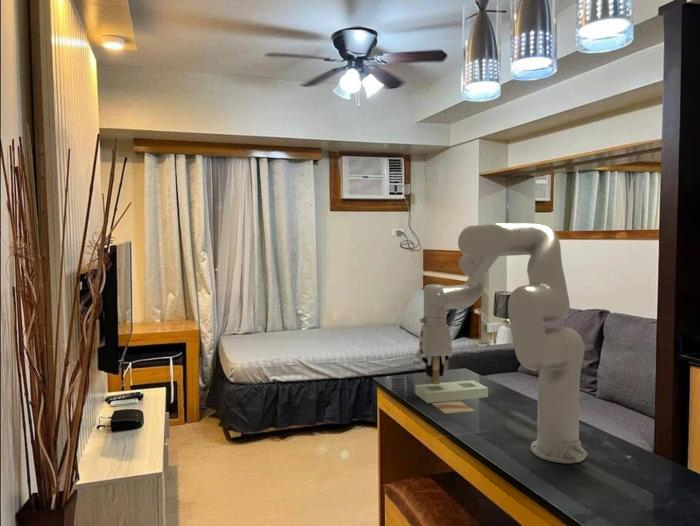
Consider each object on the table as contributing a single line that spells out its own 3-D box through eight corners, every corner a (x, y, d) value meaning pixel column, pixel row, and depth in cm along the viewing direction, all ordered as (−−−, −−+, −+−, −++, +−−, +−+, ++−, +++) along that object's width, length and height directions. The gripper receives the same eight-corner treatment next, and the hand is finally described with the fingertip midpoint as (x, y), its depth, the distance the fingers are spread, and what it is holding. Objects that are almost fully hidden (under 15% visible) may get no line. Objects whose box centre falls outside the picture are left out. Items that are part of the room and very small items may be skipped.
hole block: (488, 398, 168) (488, 387, 167) (427, 404, 162) (427, 393, 162) (473, 389, 177) (473, 380, 177) (415, 395, 172) (415, 385, 171)
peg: (441, 384, 167) (441, 354, 166) (432, 384, 166) (432, 354, 166) (437, 381, 170) (437, 352, 169) (428, 382, 169) (428, 352, 169)
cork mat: (475, 412, 154) (475, 410, 154) (445, 415, 152) (445, 413, 152) (459, 402, 164) (459, 400, 164) (431, 405, 161) (431, 403, 161)
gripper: (416, 324, 161) (416, 380, 162) (462, 322, 165) (462, 376, 166) (407, 320, 168) (407, 374, 169) (452, 318, 173) (451, 371, 174)
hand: (434, 375), depth 168 cm, fingers closed on peg, 3 cm apart
